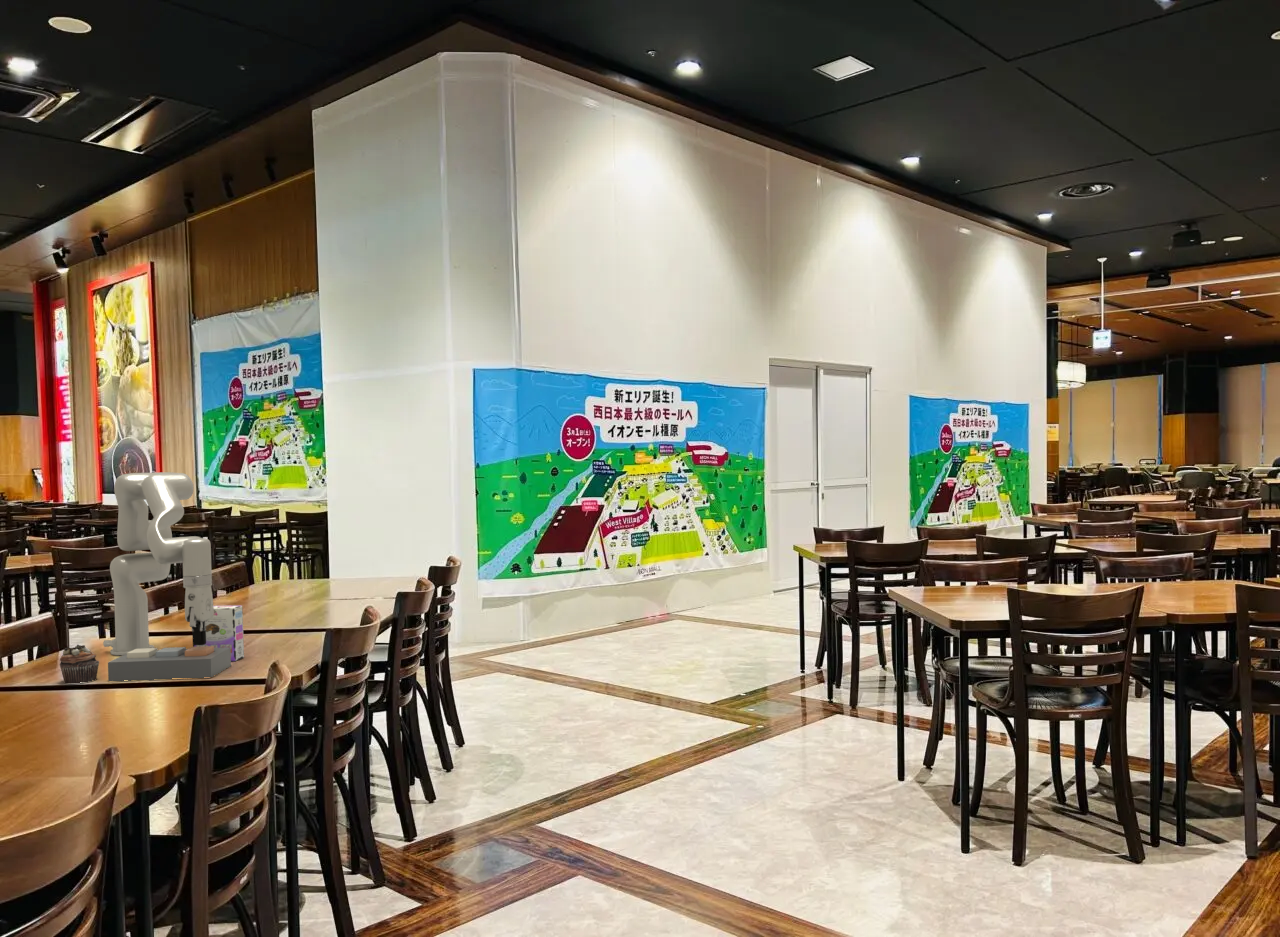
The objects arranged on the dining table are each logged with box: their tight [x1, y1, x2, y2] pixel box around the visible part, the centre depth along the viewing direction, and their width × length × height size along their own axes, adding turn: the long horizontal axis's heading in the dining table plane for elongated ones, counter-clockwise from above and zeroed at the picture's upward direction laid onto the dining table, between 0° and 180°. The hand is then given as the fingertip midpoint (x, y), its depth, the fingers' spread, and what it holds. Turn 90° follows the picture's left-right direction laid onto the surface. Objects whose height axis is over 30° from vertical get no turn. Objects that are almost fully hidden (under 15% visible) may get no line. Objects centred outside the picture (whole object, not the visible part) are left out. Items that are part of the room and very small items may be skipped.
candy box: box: [192, 605, 245, 662], centre depth 300 cm, size 14×6×16 cm, turn 84°
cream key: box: [127, 647, 159, 658], centre depth 281 cm, size 6×6×4 cm
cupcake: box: [59, 644, 100, 684], centre depth 275 cm, size 10×10×10 cm
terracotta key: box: [185, 646, 214, 656], centre depth 282 cm, size 6×6×4 cm
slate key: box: [156, 646, 187, 657], centre depth 281 cm, size 6×6×4 cm
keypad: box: [107, 647, 232, 682], centre depth 281 cm, size 28×16×6 cm, turn 94°
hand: (199, 644), depth 282 cm, fingers closed
